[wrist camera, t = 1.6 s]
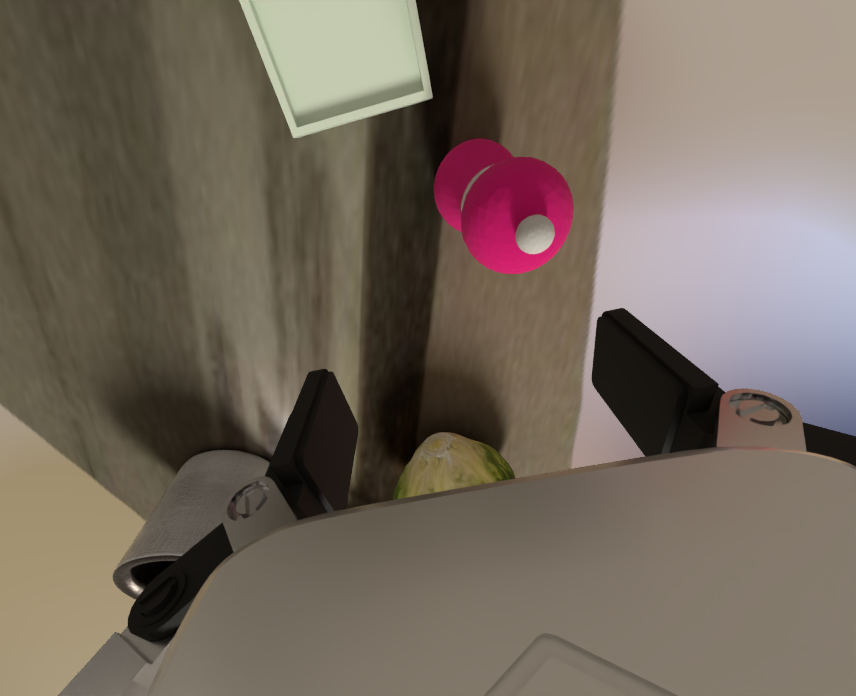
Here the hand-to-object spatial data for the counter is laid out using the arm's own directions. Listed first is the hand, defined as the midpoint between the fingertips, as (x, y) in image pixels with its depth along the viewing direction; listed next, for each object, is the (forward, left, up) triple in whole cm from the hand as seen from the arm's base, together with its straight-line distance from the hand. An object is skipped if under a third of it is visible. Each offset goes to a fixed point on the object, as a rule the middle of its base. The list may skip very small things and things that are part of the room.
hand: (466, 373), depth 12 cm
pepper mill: (-2, +5, -26) cm, 26 cm away
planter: (+32, -39, -26) cm, 57 cm away
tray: (-15, -3, -26) cm, 30 cm away
